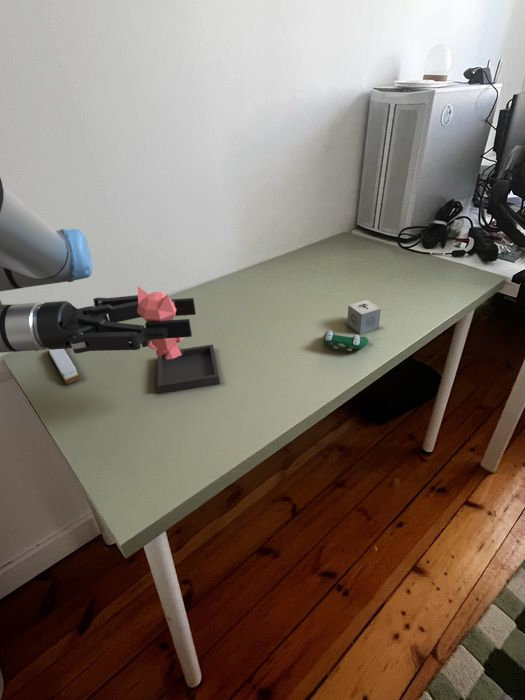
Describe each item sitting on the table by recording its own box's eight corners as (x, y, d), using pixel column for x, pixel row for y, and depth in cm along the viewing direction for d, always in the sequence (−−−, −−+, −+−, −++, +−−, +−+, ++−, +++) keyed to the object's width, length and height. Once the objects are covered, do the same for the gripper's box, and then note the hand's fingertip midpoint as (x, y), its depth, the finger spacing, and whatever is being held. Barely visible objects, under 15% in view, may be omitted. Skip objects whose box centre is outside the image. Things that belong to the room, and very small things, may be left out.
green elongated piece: (323, 348, 95) (318, 342, 89) (327, 332, 95) (322, 325, 90) (365, 356, 92) (363, 350, 86) (369, 338, 92) (367, 332, 87)
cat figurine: (196, 347, 73) (185, 284, 65) (170, 371, 68) (155, 306, 61) (164, 336, 76) (149, 275, 68) (136, 358, 71) (118, 295, 64)
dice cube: (365, 318, 101) (366, 299, 98) (378, 328, 97) (380, 308, 95) (347, 324, 100) (348, 304, 97) (360, 334, 96) (361, 314, 93)
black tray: (159, 393, 82) (157, 386, 81) (159, 359, 91) (157, 352, 90) (220, 384, 83) (219, 376, 82) (213, 351, 93) (212, 344, 92)
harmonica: (48, 354, 95) (45, 346, 94) (62, 349, 97) (59, 341, 96) (65, 386, 85) (62, 378, 84) (81, 379, 87) (78, 372, 86)
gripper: (72, 317, 78) (200, 308, 78) (29, 382, 62) (189, 371, 62) (59, 278, 74) (194, 270, 74) (10, 338, 58) (181, 327, 58)
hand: (192, 316), depth 68 cm, fingers closed on cat figurine, 6 cm apart
